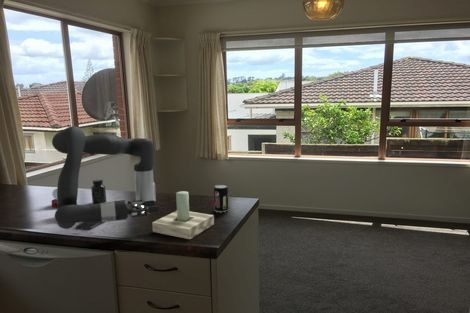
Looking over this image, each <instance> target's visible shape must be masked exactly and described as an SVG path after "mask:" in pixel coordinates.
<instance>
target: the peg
mask: <svg viewBox="0 0 470 313" xmlns="http://www.w3.org/2000/svg"><path fill="white" fill-rule="evenodd" d="M189 195H190V194H189V191H184V190H183V191H177V192H175V197H176V198H175V199H176V200H175V202H176V211H177V221H181V222H187V221H189V220H190V217H189V211H190V201H189V200H190V197H189Z"/></svg>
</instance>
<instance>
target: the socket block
mask: <svg viewBox="0 0 470 313" xmlns="http://www.w3.org/2000/svg"><path fill="white" fill-rule="evenodd" d="M189 217H190V220H189V221H187V222H181V221H177V210H175V211H173V212H171V213H170V214H167V215H164V216H163V217H161V218H159V219H158V218H157V219H156V220H155V221H152V233H157V234H162V235H166V236H173V237H177V238H182V239H187V240H191V239H193V238H194V237H196V236H198V235H199V234H201V233H202V232H204V231H205V230H207V229H209V228H211V227H212V226H214V224H215V215H214V214H208V213H201V212H194V211H190V210H189Z"/></svg>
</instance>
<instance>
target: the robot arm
mask: <svg viewBox="0 0 470 313" xmlns="http://www.w3.org/2000/svg"><path fill="white" fill-rule="evenodd" d="M51 143H52V144H51V145H52V147H53V148H54V149H55V151H57V152H59V153H61V154H66V157H65V161H64V164H63V166H62V167H61V168H62V169H61V171H60V173H59V177H58V180H57V188H56V189H57V199H58V208H56V209H57V210H56V211H55V213H54V220H55V222H56V223H57V226H59V227H60V228H61V229H65V230H66V229H67V230H68V229H71V228H73V227H74V226H76V224H78V223H79V224H81V223H83V222H86V223H99V222H105V223H109V222H116V221H125V220H127V219H128V217H129V216H128V215H131V218H138V217H148V215H149V214H152V213H158V212H159V211H160V210H159V206H158V205H156V204H155V203H156V201H157V196H156V184H155V182H154V163H155V145H154V143H153V140H151V139H150V138H140V137H139V138H138V137H137V138H135V137H134V138H123V137H121V136H119V135H115V134H111V133H110V134H108V133H98V134H90V135H86V133H85V132H84V131H83V130H82V129H81V128H80V127H79V126H77V125H76V126H75V125H71V126H69V127H67V128H64V129H62V130H60V131H59V132H57V133H56V134H55V135H53V138H52V140H51ZM83 154H93V155H94V154H95V155H106V156H107V155H109V156H117V155H120V154H121V155H122V154H123V155H124V154H125V155H130V156H134V157H139V158H140V161H139V162H138V163H135V164H134V165H133V172H134V174H133V175H134V186H135V200H128V201H126V200H125V199H122V200H121V199H120V200H113V201H112V200H111V201H106V202H105V203H100V204H93V203H92V204H78V194H79V177H80V169H81V163H82V159H83Z"/></svg>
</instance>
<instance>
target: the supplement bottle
mask: <svg viewBox="0 0 470 313" xmlns="http://www.w3.org/2000/svg"><path fill="white" fill-rule="evenodd" d="M90 189H91V201H92V204H100V203H105V202H107V190H106V185H105V184H104V182H103V179H101V178H100V179H99V178H98V179H94V180H92V186H91V188H90Z"/></svg>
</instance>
